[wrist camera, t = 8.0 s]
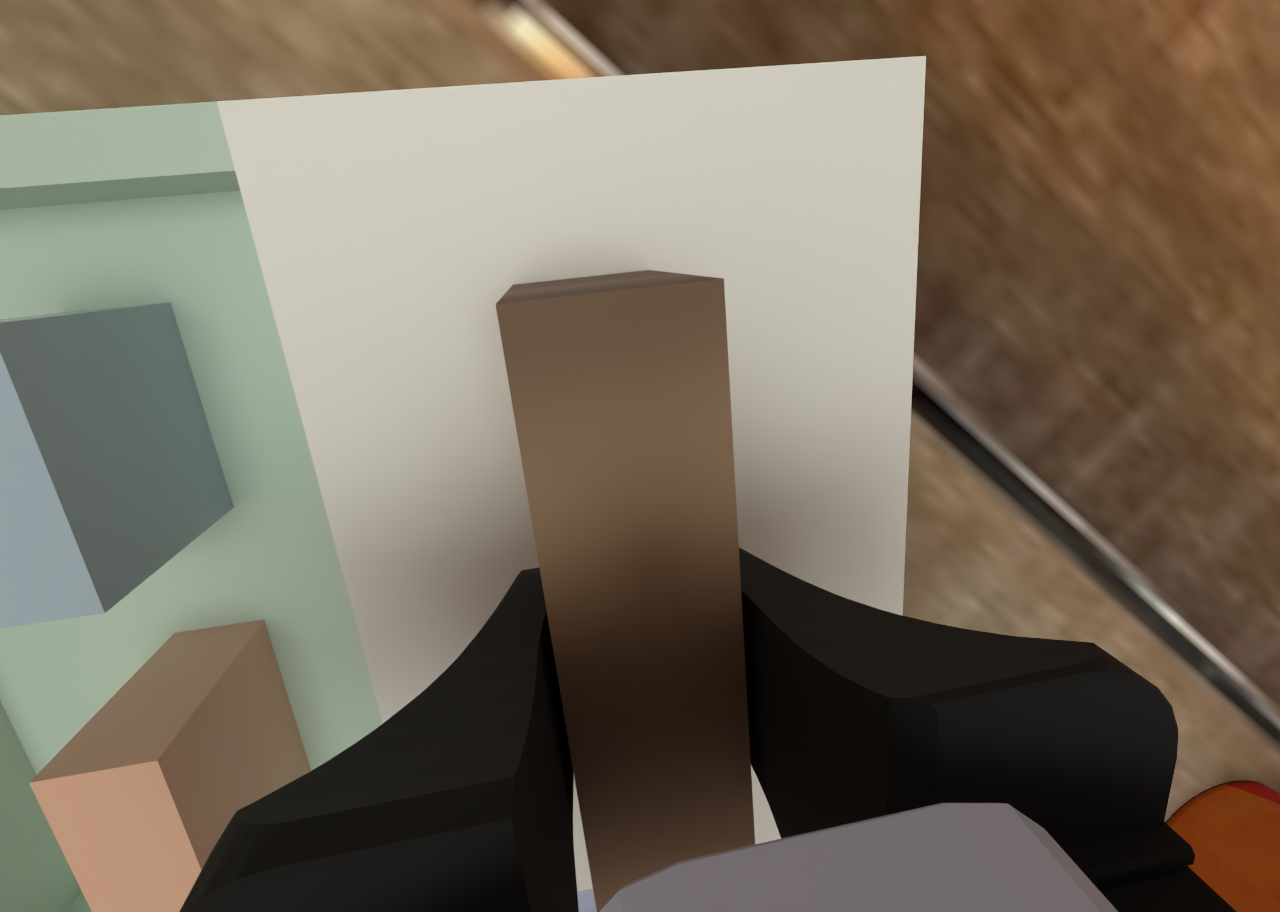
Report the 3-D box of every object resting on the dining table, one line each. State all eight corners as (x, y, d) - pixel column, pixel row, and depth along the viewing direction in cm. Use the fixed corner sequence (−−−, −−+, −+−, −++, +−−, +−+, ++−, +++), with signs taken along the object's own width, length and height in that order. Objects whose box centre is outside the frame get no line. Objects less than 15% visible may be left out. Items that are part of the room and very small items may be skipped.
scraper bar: (695, 779, 15) (764, 1008, 11) (593, 800, 15) (619, 1044, 10) (649, 269, 12) (723, 277, 7) (512, 284, 11) (495, 304, 7)
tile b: (104, 612, 10) (-37, 633, 10) (234, 507, 14) (138, 519, 14) (-12, 323, 9) (-180, 339, 8) (170, 302, 13) (62, 312, 13)
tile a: (232, 946, 12) (120, 969, 12) (310, 769, 16) (229, 783, 16) (157, 761, 11) (28, 783, 11) (263, 619, 15) (174, 632, 15)
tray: (451, 820, 18) (435, 922, 16) (76, 894, 17) (-15, 1020, 14) (287, 136, 13) (216, 101, 10) (-285, 177, 12) (-549, 150, 9)
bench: (842, 742, 20) (893, 823, 17) (451, 820, 18) (435, 922, 16) (849, 96, 14) (926, 55, 11) (287, 136, 13) (216, 101, 10)
